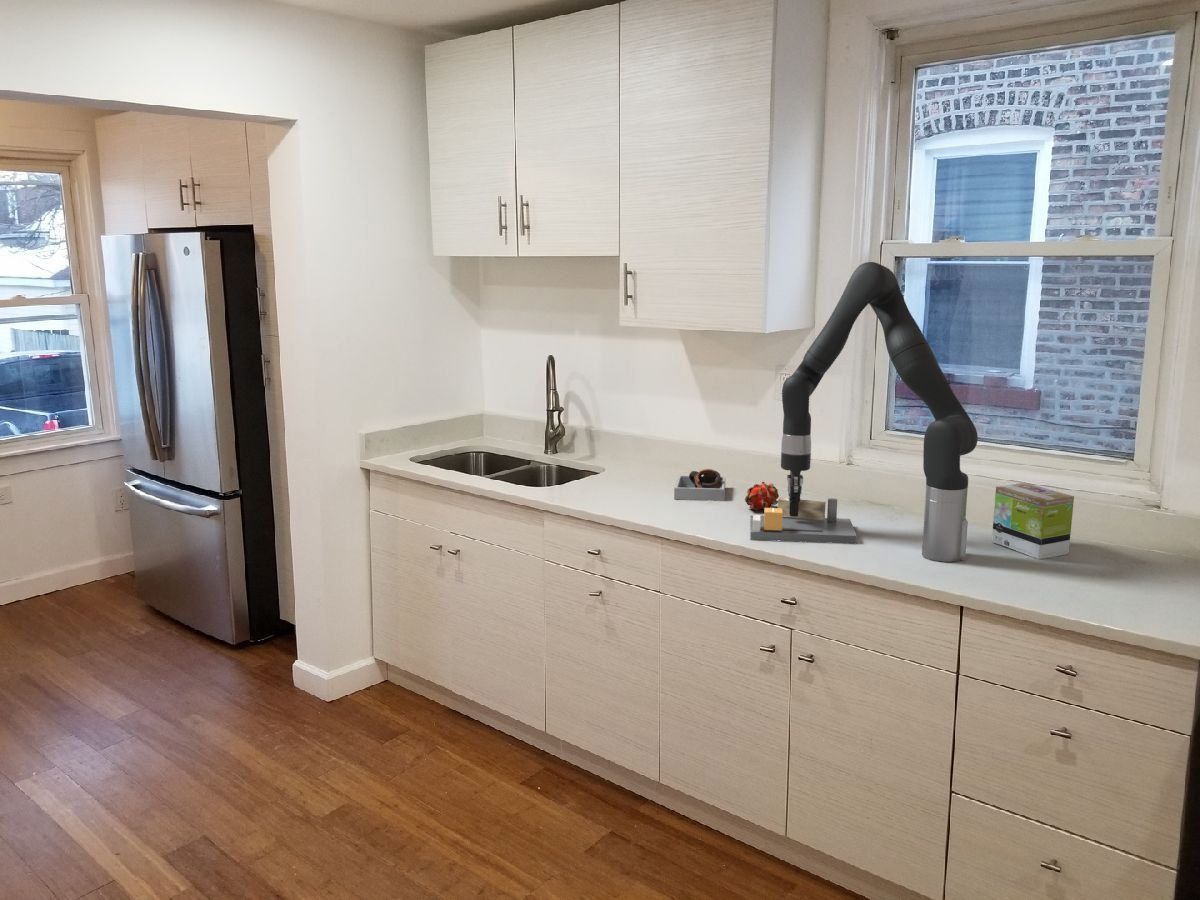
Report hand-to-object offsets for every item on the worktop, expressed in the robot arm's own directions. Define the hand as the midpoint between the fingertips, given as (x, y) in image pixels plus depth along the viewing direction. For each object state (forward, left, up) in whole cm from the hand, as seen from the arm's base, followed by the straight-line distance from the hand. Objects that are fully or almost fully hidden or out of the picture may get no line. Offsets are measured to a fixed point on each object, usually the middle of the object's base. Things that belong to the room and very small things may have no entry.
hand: (793, 515), depth 248 cm
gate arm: (-2, -3, -1) cm, 4 cm away
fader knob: (+5, +8, -1) cm, 10 cm away
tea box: (-56, +10, -4) cm, 57 cm away
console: (-2, +3, -4) cm, 5 cm away
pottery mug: (+25, -38, -4) cm, 45 cm away
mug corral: (+26, -36, -4) cm, 45 cm away
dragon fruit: (+8, -19, -4) cm, 21 cm away
